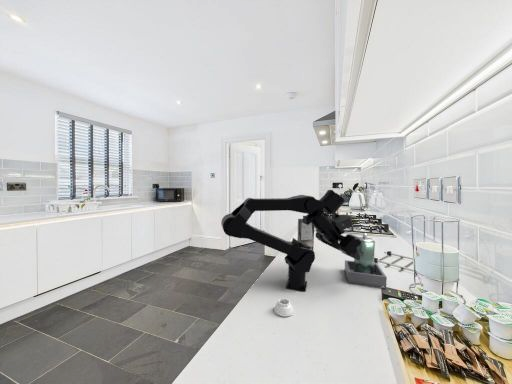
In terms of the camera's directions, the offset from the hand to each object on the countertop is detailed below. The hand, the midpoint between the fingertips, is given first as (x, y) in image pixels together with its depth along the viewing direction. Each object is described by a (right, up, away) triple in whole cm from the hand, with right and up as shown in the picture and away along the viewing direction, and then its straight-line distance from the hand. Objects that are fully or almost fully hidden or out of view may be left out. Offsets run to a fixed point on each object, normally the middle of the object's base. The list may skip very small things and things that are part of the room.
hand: (349, 254), depth 75 cm
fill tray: (+6, -9, +2) cm, 11 cm away
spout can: (+6, -8, +2) cm, 10 cm away
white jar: (-26, -10, -18) cm, 33 cm away
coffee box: (-9, -8, +30) cm, 32 cm away
